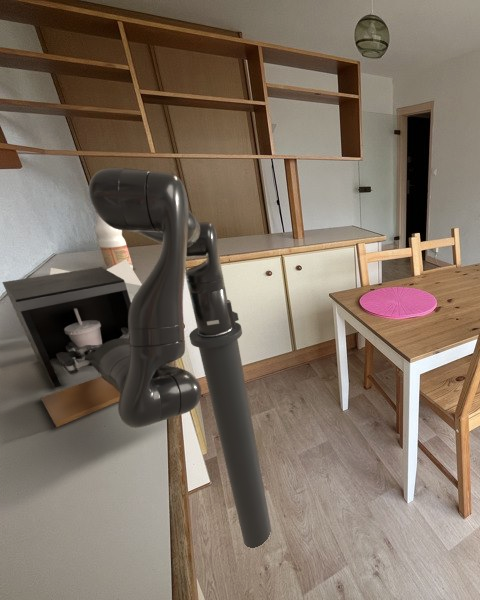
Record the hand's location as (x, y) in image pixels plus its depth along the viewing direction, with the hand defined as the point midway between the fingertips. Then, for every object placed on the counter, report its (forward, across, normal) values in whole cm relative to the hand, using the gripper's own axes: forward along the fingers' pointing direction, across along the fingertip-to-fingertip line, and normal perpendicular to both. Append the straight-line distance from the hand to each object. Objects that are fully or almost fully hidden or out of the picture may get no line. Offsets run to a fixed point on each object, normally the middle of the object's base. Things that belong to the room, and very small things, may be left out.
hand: (99, 338), depth 68 cm
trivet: (-4, +5, +11) cm, 13 cm away
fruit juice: (+104, -30, +11) cm, 108 cm away
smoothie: (+14, 0, +11) cm, 18 cm away
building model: (+62, -13, +11) cm, 65 cm away
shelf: (+14, 0, +11) cm, 18 cm away
